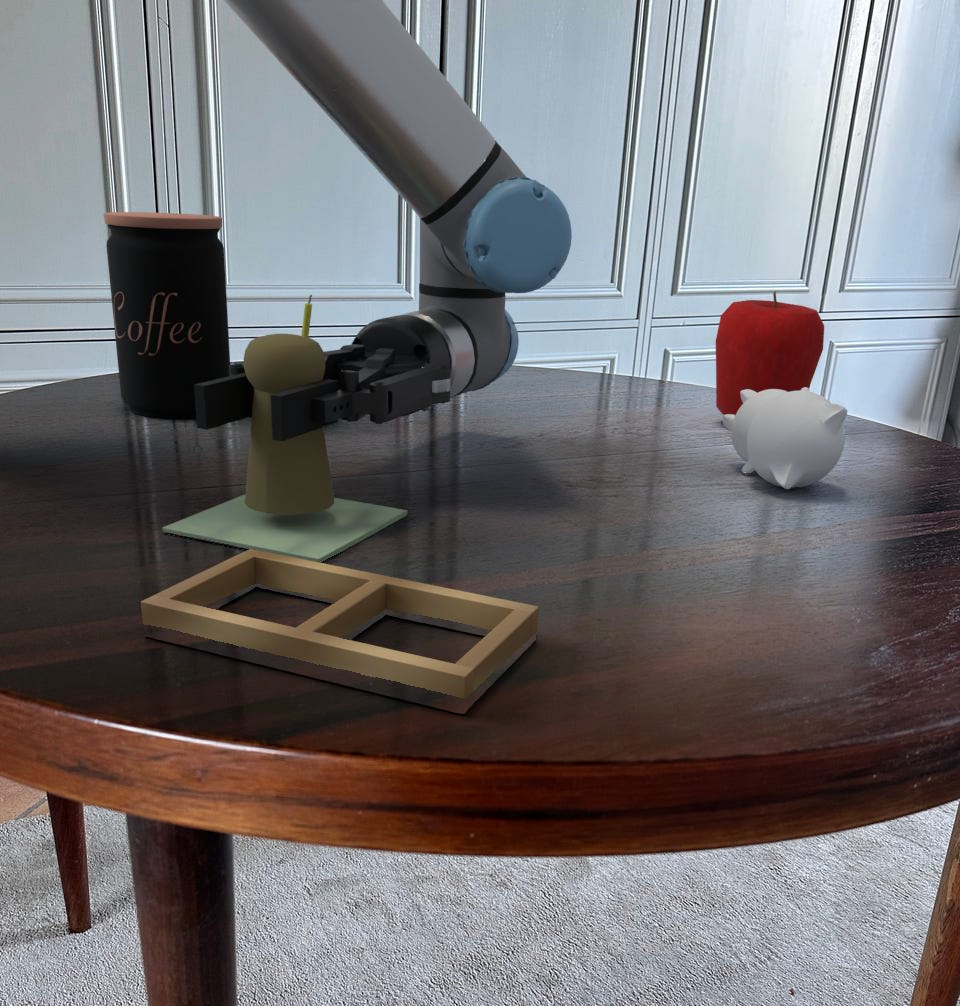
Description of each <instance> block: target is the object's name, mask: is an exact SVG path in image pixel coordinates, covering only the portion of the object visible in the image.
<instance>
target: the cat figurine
mask: <svg viewBox="0 0 960 1006" xmlns="http://www.w3.org/2000/svg"><path fill="white" fill-rule="evenodd" d="M740 395H741V399H742V402H743V404H742V406H741V407H740V408H739V410H738V412H737V413H736V415H732V414H726V415H723V414H722V424H723V426H724V427H725V428H726V429H727V430H729V431H730V432H731V434H730V435H731V436H730V437H731V442H732V446H733V447H734V450H735V452H736V453H737V455H738V456H739V457H740V459H742V460H743V461H744V462H745V463H744V465H743V466H742V467H741V472H742V471H743V472H746V473H750V474H752V473H753V472H754V471H755V472H756V473H757V474H758V475H759V477H761V478H762V479H763V480H765V481H766V482H767V483H770V484H772V485H774V486H776V487H780V486H781V487H780V488H783V489H785V490H790V489H792V488H791V487H799V488H805V487H808V486H810V485H812V484H815V483H818V482H819V481H821V480H822V479H824V478H825V477H826V476H827V475H829V474H830V472H831V471H832V470H834V468H835V467H836V465H837V464H838V462H839V460H840V458H841V457H842V454H843V451H844V447H845V443H846V431H845V424H844V421H846V418H847V416H848V409H847V408H846V407H845V406H843V405H842V404H841V405H840V404H838V403H832V402H831V401H830V400H829V399H827V398H826V397H825V396H823V395H820V394H818V393H817V392H816V393H815V392H813V391H811V390H810V388H807V387H804V388H802V389H801V390H800V391H791V392H787V391H784V390H780V389H768V390H763V391H761V392H758V393H757V392H755V391H753V390H750V389H746V390H742V391H740ZM743 472H742V473H743Z"/></svg>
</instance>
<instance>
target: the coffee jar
mask: <svg viewBox="0 0 960 1006" xmlns="http://www.w3.org/2000/svg"><path fill="white" fill-rule="evenodd" d="M103 219H104V224H105V225H107V227H108V228H109V230H110V235H109V237H108V239H107V240H106V254H107V256H106V257H107V267H108V276H109V286H110V296H111V306H112V318H113V327H114V337H115V348H116V357H117V368H118V369H117V370H118V378H119V380H118V381H119V389H120V397H121V399H122V402H124V404H126V406H127V407H128V409H129V411H130V412H131V413H133V414H135V415H139V416H142V417H143V416H144V417H149V418H158V419H159V418H160V419H193V418H196V405H195V391H194V385H195V384H199V383H203V382H207V381H212V380H216V379H220V378H224V377H229V376H230V374H229V365H231V354H230V353H231V352H230V336H229V335H230V334H229V333H230V332H229V316H228V315H229V314H228V299H227V298H228V297H227V296H228V295H227V278H226V260H225V247H224V243H223V242H222V240H220V238H219V232H220V230H221V228H222V227H223V217H221V216H217V215H208V214H193V213H178V212H177V213H175V212H151V211H150V212H149V211H148V212H147V211H109V212H104V213H103Z"/></svg>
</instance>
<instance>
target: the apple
mask: <svg viewBox="0 0 960 1006" xmlns="http://www.w3.org/2000/svg"><path fill="white" fill-rule="evenodd" d="M772 295H773V300H761V299H747V300H740V301H733V302H732V303H730V305H729V306H728V307H727V308H726V309H725V310H724V311H723V313H722V314H721V315H720V317H719V323H718V327H717V333H716V337H715V406H716V409H718V411H719V412H720V413H721V414H722V416H723V415H726V414H732V415H736V413H737V412H738V410H739V408H740V407H741V406H742V404H743V402H742V399H741V395H740V391H742V390H746V389H750V390H753V391H755V392H757V393H758V392H761V391H763V390H768V389H780V390H784V391H787V392H791V391H800V390H801V389H802V388H804V387H807V388H809V389H811V384H812V381H813V379H814V375H815V372H816V370H817V367H818V365H819V363H820V359H821V356H822V354H823V351H824V342H825V341H824V340H825V339H824V338H825V324H824V322H823V320H822V317H821V316H820V314H819V312H818V310H817V309H814V308H811V307H808V306H806V305H805V306H804V305H800V304H794V303H786V302H780V301H777V293H776V291H773V293H772Z"/></svg>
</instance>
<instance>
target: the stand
mask: <svg viewBox="0 0 960 1006" xmlns="http://www.w3.org/2000/svg"><path fill="white" fill-rule="evenodd" d="M254 584H261V585H264V586H269V587H273V588H276V589H281V590H287V591H292V592H298V593H304V594H307V595H313V596H316V597H317V596H319V597H322V598H328V599H333V600H338V601H337V602H335V603H334V604H330V605H329V606H328V607H326V608H324V609H322V610H320V611H319V612H318V613H316V614H315V615H313V616H311V617H310V618H309V619H307V620H305V621H303V622H302V623H300V624H299V625H298V626H296V627H294V626H290V625H286V624H281V623H277V622H272V621H267V620H263V619H260V618H254V617H250V616H245V615H242V614H237V613H233V612H229V611H224V610H219V609H217V610H216V609H211V608H207V607H204V606H206V605H208V604H210V603H213V602H215V601H218V600H219V599H222V598H225V597H227V596H229V595H231V594H233V593H236V592H239V591H240V590H243V589H244V588H247V587H249V586H251V585H254ZM140 608H141V609H140V610H141V616H142V617H141V618H142V625H143V624H144V625H151V626H156V627H162V628H167V629H172V630H176V631H180V632H183V633H188V634H191V635H194V636H196V635H197V636H200V637H204V638H206V639H207V638H208V639H212V640H215V641H218V642H219V641H220V642H224V643H229V644H233V645H236V646H239V647H241V646H242V647H245V648H248V649H250V648H251V649H255V650H258V651H261V652H262V651H263V652H268V653H271V654H275V655H280V656H285V657H288V658H290V657H291V658H295V659H299V660H302V661H306V662H310V663H314V664H317V665H319V664H320V665H324V666H328V667H332V668H336V669H342V670H343V669H344V670H348V671H352V672H356V673H360V674H361V675H365V676H370V677H374V678H375V677H378V678H382V679H386V680H391V681H396V682H400V683H402V684H406V685H410V686H415V687H420V688H425V689H427V690H431V691H436V692H441V693H443V694H447V695H452V696H456V697H459V698H466V697H467V696H468V695H469V694H470V693H471V692H473V691H474V690H475V689H476V688H477V687H478V686H479V685H480V684H481V683H483V682H484V681H485V680H486V679H487V678H488V677H489V676H490V675H491V674H492V673H493V672H494V671H496V670H497V668H498V667H499V666H500V665H501V664H503V663H504V662H505V661H506V660H507V659H508V658H509V657H511V656H512V655H513V653H515V652H516V651H517V650H518V649H519V648H520V647H522V645H523V644H525V643H526V642H527V641H528V640H529V639H530V637H532V636H533V635H534V634H536V632H537V633H538V626H539V625H538V623H539V610H540V608H539V605H534V604H528V603H523V602H519V601H515V600H509V599H503V598H498V597H494V596H489V595H484V594H478V593H474V592H470V591H469V592H468V591H463V590H458V589H453V588H448V587H444V586H439V585H434V584H429V583H425V582H424V583H422V582H420V581H419V582H418V581H414V580H408V579H403V578H400V577H394V576H388V575H383V574H379V573H373V572H369V571H363V570H358V569H354V568H348V567H345V566H338V565H334V564H329V563H325V562H323V563H319V562H314V561H309V560H304V559H299V558H294V557H289V556H284V555H279V554H274V553H269V552H264V551H259V550H254V549H249V550H244V551H242V552H241V553H239V554H237V555H234V556H232V557H230V558H228V559H226V560H224V561H222V562H220V563H218V564H216V565H214V566H211V567H209V568H207V569H205V570H203V571H201V572H199V573H197V574H195V575H193V576H191V577H189V578H186V579H184V580H183V581H180V582H178V583H176V584H174V585H172V586H170V587H168V588H166V589H164V590H161V591H160V592H158V593H156V594H153V595H152V596H150V597H147V598H145V599H143V600H141V601H140ZM385 609H387V610H393V611H399V612H404V613H411V614H416V615H423V616H428V617H432V618H436V619H437V618H440V619H444V620H449V621H453V622H458V623H463V624H467V625H472V626H475V627H479V628H483V629H488V630H492V631H491V632H489V633H488V634H487V635H486V636H485V637H482V639H481V640H479V641H478V642H477V643H476V644H475V645H474V646H473V647H472V648H470V649H469V650H468V651H467V652H466V653H465V654H463V656H462V657H461V658H460V659H458V660H457V661H456V662H455V663H452V662H448V661H445V660H444V661H443V660H439V659H435V658H430V657H426V656H422V655H417V654H414V653H413V654H412V653H409V652H404V651H400V650H395V649H391V648H387V647H383V646H377V645H375V644H374V645H373V644H370V643H364V642H360V641H356V640H347V639H343V638H340V637H342V636H344V635H346V634H347V633H349V632H351V631H352V630H353V629H356V628H357V627H359V626H360V625H361V624H364V623H366V622H367V621H368V620H370V619H372V618H374V617H375V616H377V615H378V614H380V613H381V612H382V611H384V610H385Z"/></svg>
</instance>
